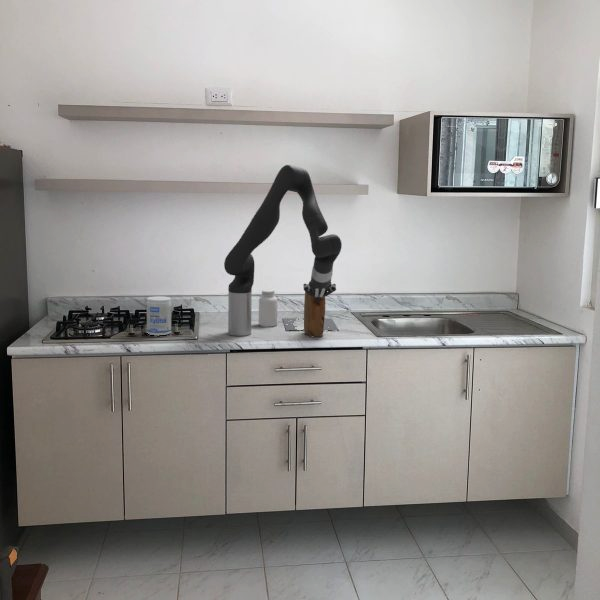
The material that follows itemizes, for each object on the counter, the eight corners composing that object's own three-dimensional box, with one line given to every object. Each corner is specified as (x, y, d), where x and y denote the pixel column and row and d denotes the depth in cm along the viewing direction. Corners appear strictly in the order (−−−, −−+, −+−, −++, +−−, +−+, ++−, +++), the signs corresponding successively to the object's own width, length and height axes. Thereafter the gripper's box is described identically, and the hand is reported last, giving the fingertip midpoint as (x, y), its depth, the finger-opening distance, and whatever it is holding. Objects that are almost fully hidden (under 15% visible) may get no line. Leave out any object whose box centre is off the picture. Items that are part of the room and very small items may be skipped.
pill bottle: (259, 327, 312) (259, 292, 310) (257, 323, 320) (257, 288, 317) (278, 327, 314) (278, 291, 311) (275, 322, 321) (276, 288, 319)
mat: (286, 331, 306) (286, 330, 306) (282, 318, 330) (282, 318, 330) (339, 330, 308) (339, 330, 308) (331, 319, 332) (331, 318, 332)
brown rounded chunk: (302, 331, 305) (303, 283, 302) (320, 331, 307) (321, 283, 303) (307, 337, 295) (308, 288, 291) (326, 337, 296) (327, 287, 293)
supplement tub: (149, 337, 290) (149, 300, 288) (144, 332, 299) (143, 296, 296) (174, 336, 294) (173, 299, 291) (168, 331, 303) (167, 295, 300)
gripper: (338, 265, 277) (333, 292, 292) (303, 265, 276) (300, 292, 290) (340, 282, 273) (335, 308, 287) (304, 281, 272) (301, 308, 286)
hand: (317, 300), depth 289 cm, fingers closed
